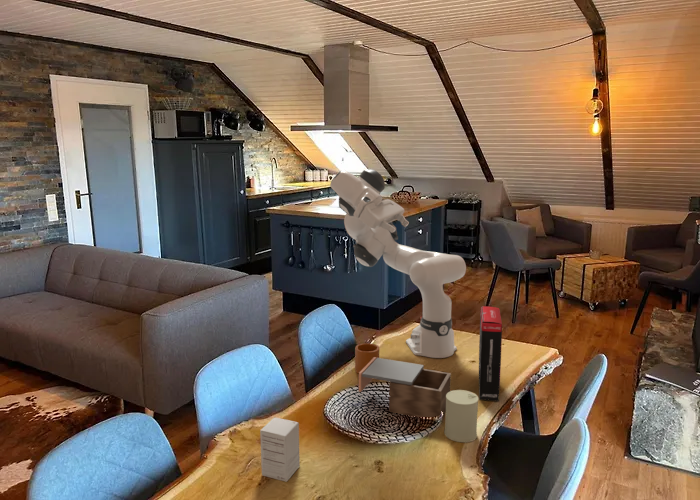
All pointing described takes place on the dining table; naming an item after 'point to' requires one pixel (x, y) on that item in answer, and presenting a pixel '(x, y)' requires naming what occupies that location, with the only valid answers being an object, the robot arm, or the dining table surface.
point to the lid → (389, 372)
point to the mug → (365, 355)
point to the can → (461, 416)
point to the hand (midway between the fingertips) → (401, 227)
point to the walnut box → (421, 395)
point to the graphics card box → (490, 353)
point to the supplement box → (280, 449)
